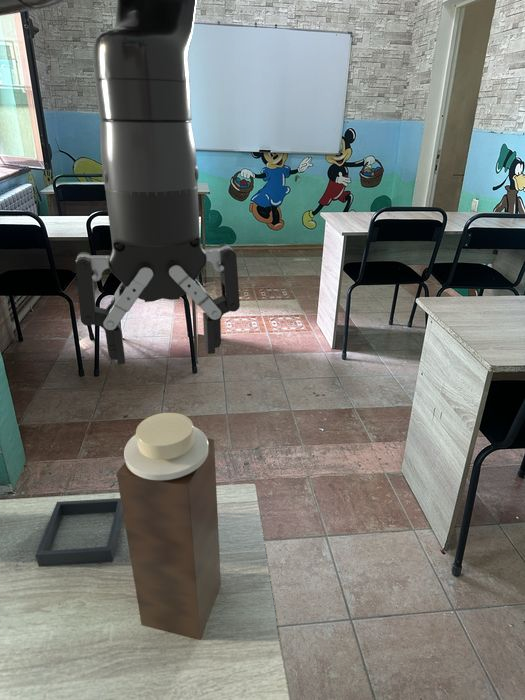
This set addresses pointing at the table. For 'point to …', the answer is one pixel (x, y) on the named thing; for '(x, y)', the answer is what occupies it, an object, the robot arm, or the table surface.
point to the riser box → (173, 546)
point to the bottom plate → (167, 460)
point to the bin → (83, 554)
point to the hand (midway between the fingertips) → (166, 355)
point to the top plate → (165, 436)
